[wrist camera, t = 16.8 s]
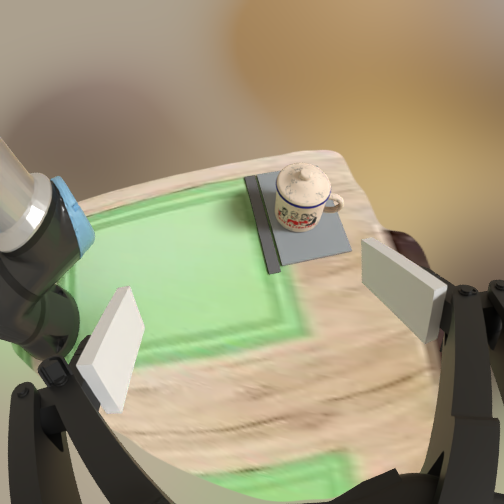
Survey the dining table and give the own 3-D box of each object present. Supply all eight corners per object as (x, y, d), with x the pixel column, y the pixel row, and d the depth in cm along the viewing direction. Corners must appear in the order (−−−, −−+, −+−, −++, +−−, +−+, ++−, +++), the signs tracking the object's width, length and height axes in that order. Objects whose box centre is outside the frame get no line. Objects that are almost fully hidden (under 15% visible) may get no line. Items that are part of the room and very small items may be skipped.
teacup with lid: (269, 229, 53) (271, 189, 42) (277, 189, 57) (281, 147, 46) (334, 241, 52) (352, 205, 41) (338, 201, 55) (353, 161, 45)
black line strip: (269, 274, 50) (269, 273, 49) (244, 177, 58) (244, 176, 58) (280, 272, 50) (280, 271, 50) (254, 176, 58) (254, 175, 58)
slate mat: (282, 266, 50) (282, 265, 50) (256, 175, 59) (256, 174, 58) (351, 251, 51) (351, 250, 51) (317, 167, 60) (317, 165, 59)
